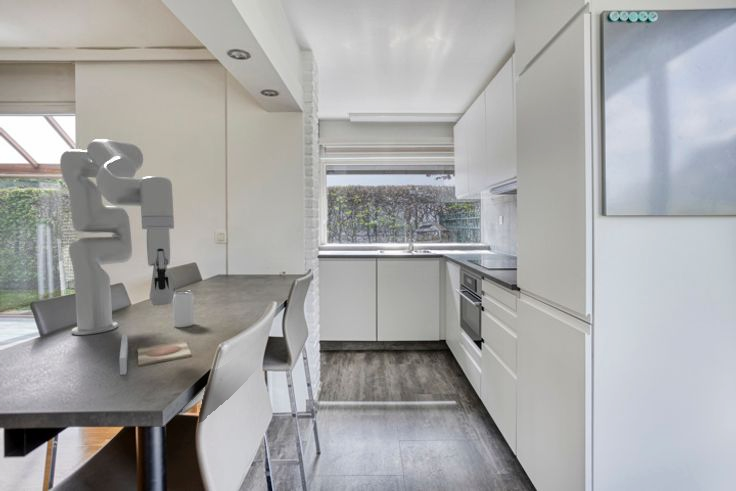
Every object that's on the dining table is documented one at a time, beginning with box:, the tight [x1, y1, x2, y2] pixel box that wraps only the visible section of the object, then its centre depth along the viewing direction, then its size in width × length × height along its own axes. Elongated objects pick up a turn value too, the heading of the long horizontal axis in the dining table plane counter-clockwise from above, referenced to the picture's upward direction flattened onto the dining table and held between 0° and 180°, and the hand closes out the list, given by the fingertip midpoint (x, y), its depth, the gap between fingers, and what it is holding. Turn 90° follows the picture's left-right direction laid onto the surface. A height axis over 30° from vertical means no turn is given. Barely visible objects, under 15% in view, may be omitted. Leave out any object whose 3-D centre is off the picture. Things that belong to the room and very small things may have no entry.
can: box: [172, 289, 196, 329], centre depth 126 cm, size 6×6×12 cm
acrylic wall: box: [118, 334, 129, 376], centre depth 93 cm, size 22×1×4 cm, turn 33°
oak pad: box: [137, 339, 192, 367], centre depth 98 cm, size 14×12×1 cm
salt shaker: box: [149, 263, 175, 306], centre depth 97 cm, size 6×6×13 cm
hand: (161, 290), depth 97 cm, fingers closed on salt shaker, 3 cm apart
